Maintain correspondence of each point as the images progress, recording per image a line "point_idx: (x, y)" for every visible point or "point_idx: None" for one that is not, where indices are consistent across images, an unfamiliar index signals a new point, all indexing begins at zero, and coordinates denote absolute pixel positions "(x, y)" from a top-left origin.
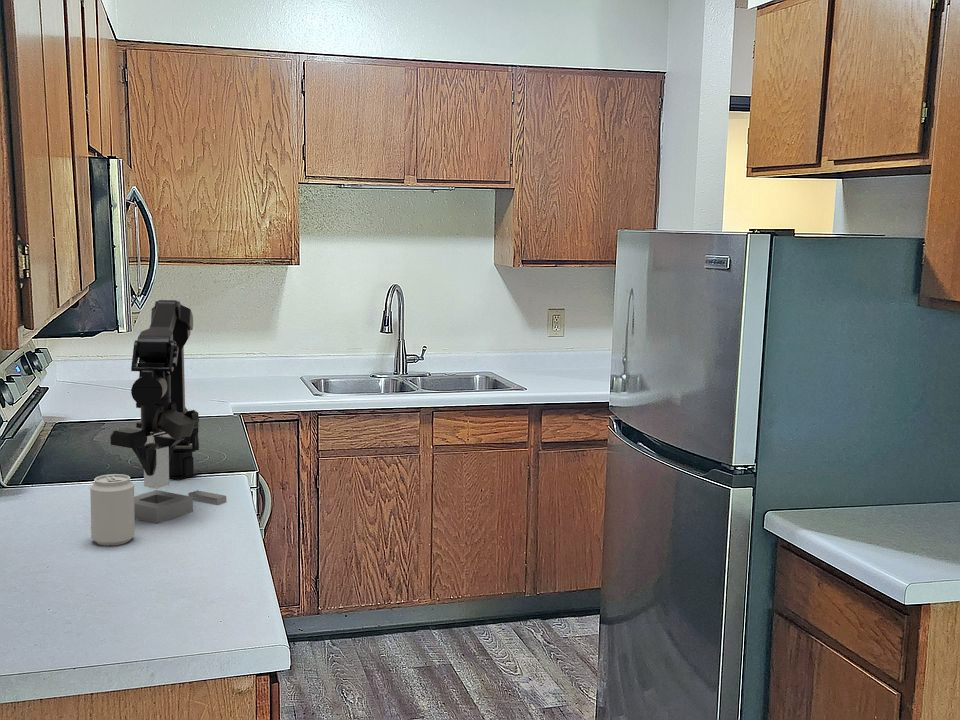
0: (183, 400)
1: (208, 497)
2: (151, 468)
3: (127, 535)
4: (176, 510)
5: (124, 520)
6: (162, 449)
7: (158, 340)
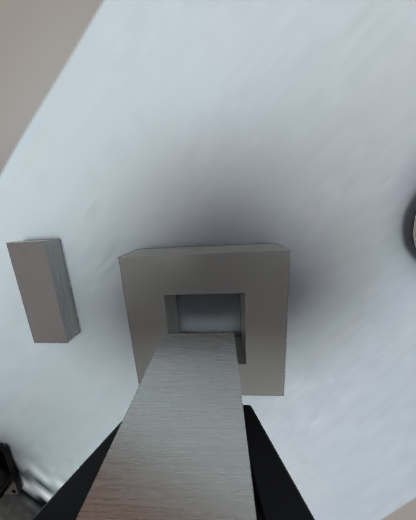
0: None
1: (52, 273)
2: (261, 448)
3: None
4: (200, 248)
5: None
6: None
7: None
